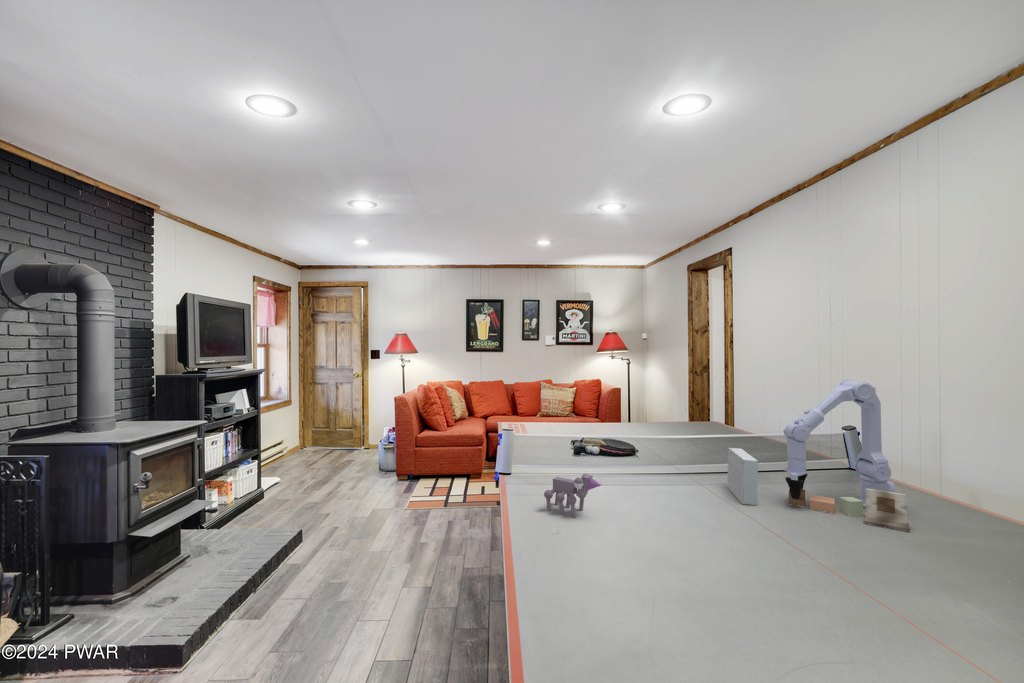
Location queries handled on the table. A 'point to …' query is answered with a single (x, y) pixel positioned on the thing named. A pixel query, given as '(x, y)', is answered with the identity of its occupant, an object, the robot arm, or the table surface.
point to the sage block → (851, 506)
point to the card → (886, 510)
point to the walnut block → (795, 501)
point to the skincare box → (742, 476)
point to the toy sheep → (570, 492)
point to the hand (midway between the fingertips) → (796, 496)
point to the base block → (822, 503)
